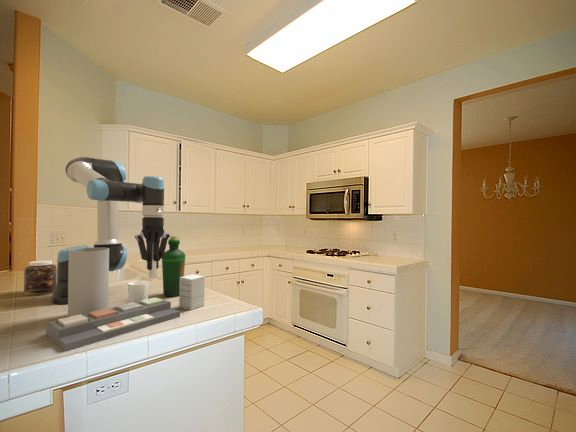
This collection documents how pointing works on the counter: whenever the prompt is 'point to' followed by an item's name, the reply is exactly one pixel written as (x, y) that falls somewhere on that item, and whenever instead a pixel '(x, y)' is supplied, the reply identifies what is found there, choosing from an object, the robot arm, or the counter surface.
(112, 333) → the key pad
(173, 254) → the bottle
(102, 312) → the key terracotta
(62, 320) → the key white
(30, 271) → the jar
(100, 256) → the cylinder vase
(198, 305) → the supplement box
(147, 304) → the key sage
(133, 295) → the white cup
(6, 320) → the counter surface
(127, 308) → the key grey
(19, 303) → the counter surface
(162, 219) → the robot arm
